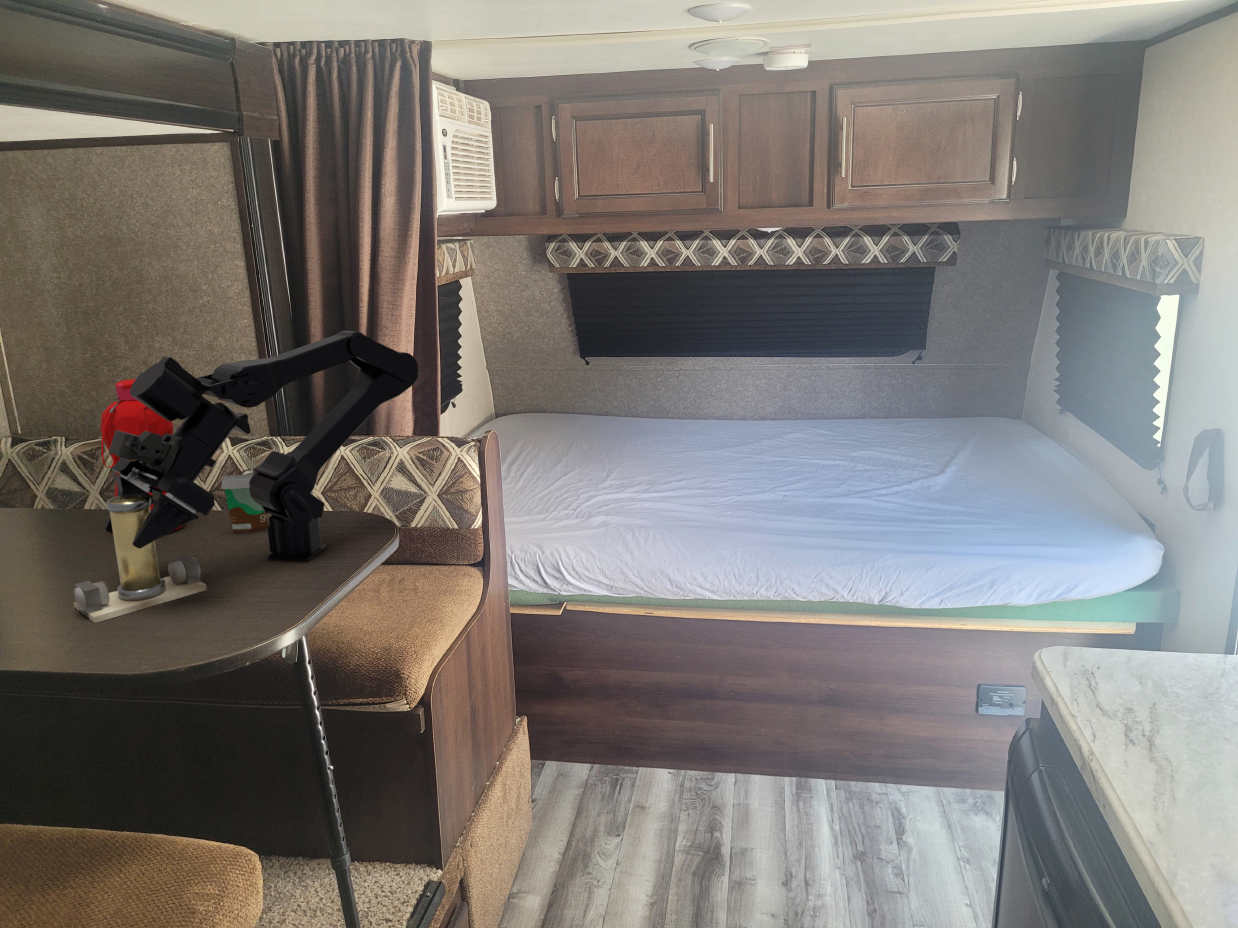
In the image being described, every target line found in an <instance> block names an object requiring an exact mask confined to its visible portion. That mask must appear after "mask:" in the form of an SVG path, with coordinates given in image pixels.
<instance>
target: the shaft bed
mask: <svg viewBox="0 0 1238 928" xmlns="http://www.w3.org/2000/svg"><path fill="white" fill-rule="evenodd" d="M198 561H199V560H198V559H196V557H194V556H189V555H186V554H185V555H181V556H177V557H174V561H171V562H170V563H169V564H168V566H167V568H168V575H169V576H165V577H163V579H164V580H165V587H166V591H165V592H164V593H163V594H161V595H159V596H157V597H154V598H150V599H146V600H141V601H123V600H120V599H119V598H118V592H117V590H115V591H111V592H109V589H108V587H107V585H106V583H105V581H102V580H101V581H98V582H97V581H96V582H94V583H92V582H91V581H90V580H87V581H86V580H85V581H81V582H78V583H74V592H73V595H74V598H75V599H74V600H75V601H74V602H73V606H74V609H75V608H76V609H77V610H78V611H77V610H76V609H75V610H76V611H77V612H79V611H80V612H81V613H80V612H79V613H80V614H81V615H83V616H84V615H85V616H84V617H86V618H87V619H88V618H89V620H90V621H91V622H93V623H94V624H96V623H100V622H103V621H106V620H110V619H112V618H116V617H120V616H123V615H126V614H130V613H133V612H137V611H140V610H144V609H147V608H150V607H153V606H158V605H160V604H163V603H167V602H171V601H174V600H178V599H181V598H185V597H187V596H188V597H189V596H190V595H191V596H192V595H195V594H198V593H200V592H201V593H202V592H205V591H208V589H207V588H208V587H207V584H206V583H204V582H202V581H201V574H202V573H201V572H202V571H201V567H200V564H199V562H198Z"/></svg>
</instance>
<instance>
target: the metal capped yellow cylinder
mask: <svg viewBox="0 0 1238 928" xmlns="http://www.w3.org/2000/svg"><path fill="white" fill-rule="evenodd" d="M150 505H151V497H150V495H147V494H129V495H122V496H117V497H115V496H114V497H111V498H109V499H107V500H106V507H107V510H108V512H109V516H111V522H112V529H113V534H112V535H113V540H114V547H115V554H116V561H117V562H116V563H117V567H118V573H119V581H120V582H119V583H120V584H119V585H118V586H117V588H116V591H117V592H118V598H119V599H120V600H123V601H141V600H146V599H150V598H154V597H157V596H159V595H161V594H163V593H164V592H165V591H166V587H165V580H164V579H163V578H164V577H163V578H162V577H161V575H160V569H159V567H160V566H159V560H158V554H157V546H156V540H155V541H153V542H151V543H149V544H148V545H146V546H144V547H142V548H140V549H139V548H137V547H135V546H133V545H132V543H133V541H134V539H135V537H136V535H137V533H138V532H139V530H140V528H141V527H142V525H143V523H144V522H145V520H146V518H147V517H148V515H149V513H150V511H151V509H150Z"/></svg>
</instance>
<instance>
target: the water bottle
mask: <svg viewBox="0 0 1238 928" xmlns="http://www.w3.org/2000/svg"><path fill="white" fill-rule="evenodd" d="M135 380H136V378H133V379H125V380H123V379H122V380H120V381H118V382H116V383H115V389H116V395H115V401H113V402H112V403H110V404H109V405H108V406H107V407H106V408H105V409H104V410H103V412H102V413H101V418H100V427H99V428H100V432H101V448H100V449H101V450H100V451H101V459H102V460H101V461H102V464H103V465H104V467H105V468H108V469H112V468H113V467H114V466H115V464H116V463H117V462H118V461H119V459H120V457H117V456H116V455H115V454H109V455H110V458H111V460H112V464H111V465H110V466H107V463H106V461H105V457H104V444H105V446H106V448H107V451H108V452H109V449H110V446H111V443H112V440H113V437H114V434H115V431H116V430H118V431H122V432H126V433H130V434H134V435H138V436H140V435H141V434H142V433H143V432H144V431H147V432H151V433H155V434H158V435H161V436H162V435H163V434H166V433H168V434H171V435H173V434H174V428H175V427H174V423H173V421H167V420H165V419H164V418H162V417H161V416H160V415H158V414H157V413H155V412H154V411H153V410H151V409H150V408H148V407H147V406H145V405H144V404H143V403H141V402H140V401H138V400H137V399H136V398H134V397H133V396H131V395H130V389H131V387H132V384H133V383H134V381H135ZM115 474H117V475H119V476H120V474H119V473H117V472H115ZM114 489H115V491H114V497H117V493H118V487H117V483H116V482H115V487H114ZM148 493H149V492H148ZM149 494H150V495H152V496H153V494H152V493H149ZM162 494H164V495H166V492H163V493H162ZM153 505H154V503H153V504H152V505H151V506H150V509H151V510H152V508H153ZM183 526H184V525H182V526H180V527H178V528H176V529H174V530H172V531H176V530H180V529H181V528H182V527H183ZM172 531H171V532H172Z"/></svg>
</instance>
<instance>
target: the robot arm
mask: <svg viewBox="0 0 1238 928" xmlns="http://www.w3.org/2000/svg"><path fill="white" fill-rule="evenodd" d="M346 362H350V363H351V364H353V366H355V367H356V368H358V369H359V371H358V375H357V378H356V381H355V385H354V386H353V388H351V390H349V391H348V392H347V394H346V395H345V396H344V397H343V398H342V399H341V400H340V401H339V402H338V403H337V404H336V406H334V407H333V408H332V409H331V410H330V411H329V413H327V414H326V415H325V417H324V418H323V419H322V420H321V421H319V423H318V424H317V425H315V427H314V428H313V429H312V430H311V431H310V432H309V433H308V434H307V435H306V436H305V437H304V438H303V440H302V441H300V442H299V444H298V445H296V447H294V448H293V449H292V450H291V451H289V452H286V453H283V452H279V451H276V450H272V451H271V452H269V454H268V455H267V456H266V458H264V459H265V460H264V462H263V463H262V462H261V463H260V464H259V465H258V466H256V468H255V467H253V468H254V469H253V471H256V473H255V474H254V475H253V476H252V478H251V479H250V482H249V485H250V487H249V491H250V495H251V497H252V499H253V500H254V501H255V502H256V503H258V504H260V505H261V506H262V508H263V510H264V512H265V513H267V514H271V515H272V516H270V517H269V526H268V527H267V530H266V531H267V538H268V549H269V552H270V554H269V555H267V556H266V559H267V560H268V561H286V562H287V561H289V562H308V561H310V560H312V559H313V558H314V557H316V556H317V555H319V554H320V553H321V552H322V551H323V550H325V549H326V548H327V545H326V543H321V536H320V535H321V534H320V526H319V525H320V524H319V518H322V516H323V512H324V510H325V509H324V508H325V502H323V501H322V500H321V499H319V498H318V497H316V496H315V495H314V494H313V493H312V492H313V491H314V489H315V487H316V486H315V485H316V483H317V479H318V475H319V473H320V470H321V469H322V468H323V467H324V466H325V464H326V463H328V461H329V460H330V459H331V458H333V456H335V454H336V453H337V452H338V451H339V450H340V448H341V447H342V446H343V445H344V444H345V443H346V442H347V441H348V440H349V439H350V438H351V437H352V436H353V434H355V432H356V431H358V429H359V428H360V427H361V426H362V424H364V422H365V421H366V420H367V419H368V418H369V417H370V416H371V415H372V414H373V413H374V412H375V411H376V410H377V408H378V407H380V406H381V405H382V404H384V403H387V402H388V401H390V400H393V399H395V398H397V397H399V396H400V395H402V394H403V393H405V392H407V390H409V389H410V388H411V387H412V386H414V385H415V384H416V382H417V380H418V379H419V376H420V375H419V366H418V361H417V359H416V358H415V357H414V356H413V355H412V354H410V353H408V352H404V351H397V350H395V349H393V348H390V347H388V346H387V345H384V344H382V343H380V342H377V341H375V340H373V339H371V338H370V337H368V336H367V335H365V334H364V333H363V332H360V331H352V330H341V331H338V332H337V333H336V334H334V335H331V336H329V337H325V338H323V339H320V340H316V341H314V342H311V343H309V344H306V345H303V346H299V347H297V348H294V349H292V350H288V351H286V352H283V353H280V354H277V355H274V356H271V357H266V358H265V357H264V358H256V359H244V360H238V361H232V362H225V363H223V364H220V365H218V366H216V368H215V369H213V373H208V374H206V375H201V376H198V377H195V376H194V375H192V374H191V373H190V372H189V371H188V370H186V369H184V368H183V367H182V365H180V363H179V361H176V360H175V359H174V358H173V357H171V356H166V355H163V356H162V358H161V359H160V360H159V361H158V362H157V363H154V364H152V365H150V366H149V367H148V368H147V369H146V370H145V371H144V372H141V373H139V374H138V375H137V377H136V378H135V379H136V380H135V381H134V383H133V384H132V387H131V389H130V395H131V396H133V397H134V398H136V399H137V400H138V401H140V402H141V403H143V404H144V405H145V406H147V407H148V408H150V409H151V410H153V411H154V412H155V413H157V414H158V415H160V416H161V417H162V418H164V419H165V420H167V421H172V422H173V421H176V420H179V421H182V422H181V423H180V425H179V426H178V427H177V428H176V430H175V431H173V435H171V434H168V433H166V434H163V435H162V436H161V435H158V434H155V433H151V432H147V431H144V432H143V433H142V434H141V435H140V436H138V435H134V434H130V433H126V432H122V431H118V430H116V431H115V434H114V437H113V440H112V443H111V446H110V449H109V451H108V454H109V455H110V454H115V455H116V456H117V457H120V459H119V461H118V462H117V463H116V464H115V465H113V467H111V470H112V471H114V473H113V478H114V479H115V484H116V483H117V487H118V493H117V496H122V495H129V494H147V495H150V494H149V493H152V494H153V496H152V495H150V497H151V505H152V504H153V503H154V505H153V508H152V510H151V511H150V513H149V515H148V517H147V518H146V520H145V522H144V523H143V525H142V527H141V528H140V530H139V532H138V533H137V535H136V537H135V539H134V541H133V543H132V545H133V546H135V547H137V548H139V549H140V548H142V547H144V546H146V545H148V544H149V543H151V542H153V541H155V542H156V540H158V539H160V538H162V537H163V536H165V535H167V534H168V533H170V532H172V530H173V531H175V530H174V529H176V528H178V527H180V526H182V525H183V526H184V525H185V524H187V523H190V522H192V521H194V520H199V518H200V516H199V515H201V516H204V517H207V516H208V515H209V513H210V512H211V510H212V509H213V508H214V507H215V504H216V502H215V496H214V494H213V493H211V492H210V491H208V490H206V489H205V488H204V487H202V486H200V485H199V484H197V483H196V482H195V481H196V480H197V478H198V477H199V476H200V474H201V473H202V472H203V471H204V469H205V468H206V467H209V468H212V469H213V467H214V466H215V464H216V463H217V461H216V460H215V459H213V457H214V456H215V455H216V453H217V452H218V451H219V449H220V448H221V447H222V446H223V443H225V441H226V440H227V438H228V437H229V436H230V434H231V433H232V432H233V430H234V431H235V432H238V433H242V434H247V435H249V434H251V432H252V430H251V426H250V423H249V415H248V414H247V413H243V412H237V413H236V412H235V411H233V410H232V409H231V408H229V407H228V406H227V405H226V404H230V405H234V406H239V407H242V408H246V409H247V408H249V409H250V408H254V407H258V406H260V405H261V404H263V403H264V402H266V401H267V400H270V399H271V398H273V397H274V396H276V395H277V394H279V393H280V391H281V390H282V389H283V388H284V387H286V386H287V385H289V384H290V383H292V382H296V381H298V380H301V379H303V378H306V377H309V376H312V375H314V374H317V373H320V372H322V371H325V370H327V369H331V368H333V367H336V366H337V365H338V366H339V365H340V364H343V363H346ZM203 395H204V396H208V397H213V398H217V400H219V401H220V402H216V403H215V402H214V403H213V402H211V401H210V400H208V399H207V398H206V397H204V396H203ZM224 403H225V404H224ZM116 472H117V473H119V474H120V476H119V475H117V474H116ZM148 492H149V493H148ZM163 492H166V495H164V494H162V493H163ZM151 505H150V506H151ZM198 514H199V515H198ZM183 526H182V527H183ZM104 531H105V532H107V533H109V534H111V535H113V529H112V522H111V516H110V515H108V519H107V521H106V524H105V526H104Z"/></svg>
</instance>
